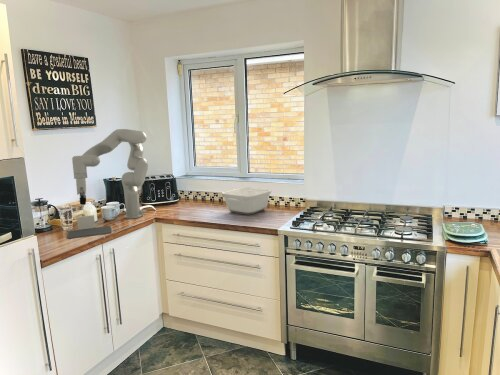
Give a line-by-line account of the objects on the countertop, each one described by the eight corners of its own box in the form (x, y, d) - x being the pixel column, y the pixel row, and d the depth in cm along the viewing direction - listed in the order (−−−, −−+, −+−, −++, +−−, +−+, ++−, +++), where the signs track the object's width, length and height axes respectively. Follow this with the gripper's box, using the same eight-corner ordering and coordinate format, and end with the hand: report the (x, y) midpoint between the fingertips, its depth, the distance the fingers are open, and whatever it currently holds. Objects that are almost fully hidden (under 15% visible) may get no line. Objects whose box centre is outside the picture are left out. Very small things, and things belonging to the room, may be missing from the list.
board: (95, 227, 240) (93, 215, 239) (95, 228, 238) (93, 215, 237) (78, 229, 237) (76, 217, 235) (78, 230, 234) (76, 217, 233)
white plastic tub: (248, 219, 245) (248, 197, 242) (216, 214, 262) (215, 193, 259) (277, 209, 272) (276, 189, 269) (246, 204, 289) (245, 186, 286)
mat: (110, 226, 240) (110, 225, 239) (111, 233, 225) (111, 232, 225) (69, 231, 231) (69, 231, 231) (67, 239, 216) (67, 238, 216)
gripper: (74, 174, 238) (77, 201, 241) (73, 177, 222) (76, 206, 225) (87, 173, 241) (90, 199, 243) (86, 177, 225) (89, 204, 228)
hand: (83, 202), depth 234 cm, fingers open, 9 cm apart
